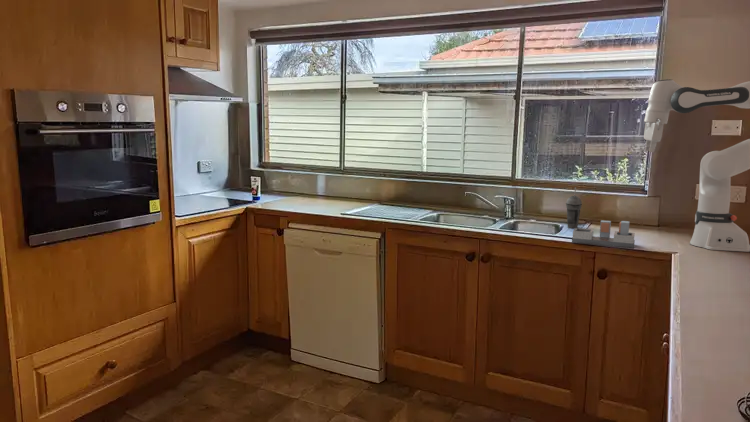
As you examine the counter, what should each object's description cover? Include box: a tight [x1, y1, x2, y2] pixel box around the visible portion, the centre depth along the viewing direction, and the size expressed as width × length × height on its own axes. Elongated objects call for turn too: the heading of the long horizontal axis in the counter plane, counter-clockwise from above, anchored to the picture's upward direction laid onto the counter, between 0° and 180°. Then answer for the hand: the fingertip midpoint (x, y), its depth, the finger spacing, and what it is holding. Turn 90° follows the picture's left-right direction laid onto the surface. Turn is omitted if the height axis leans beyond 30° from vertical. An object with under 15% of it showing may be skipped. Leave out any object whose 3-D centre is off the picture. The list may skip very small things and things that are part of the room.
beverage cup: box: [565, 187, 583, 229], centre depth 261 cm, size 7×7×20 cm
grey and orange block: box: [599, 219, 612, 238], centre depth 235 cm, size 4×4×8 cm
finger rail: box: [571, 227, 636, 249], centre depth 227 cm, size 24×8×5 cm, turn 63°
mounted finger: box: [618, 220, 630, 235], centre depth 223 cm, size 4×4×8 cm
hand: (649, 151), depth 228 cm, fingers open, 8 cm apart
